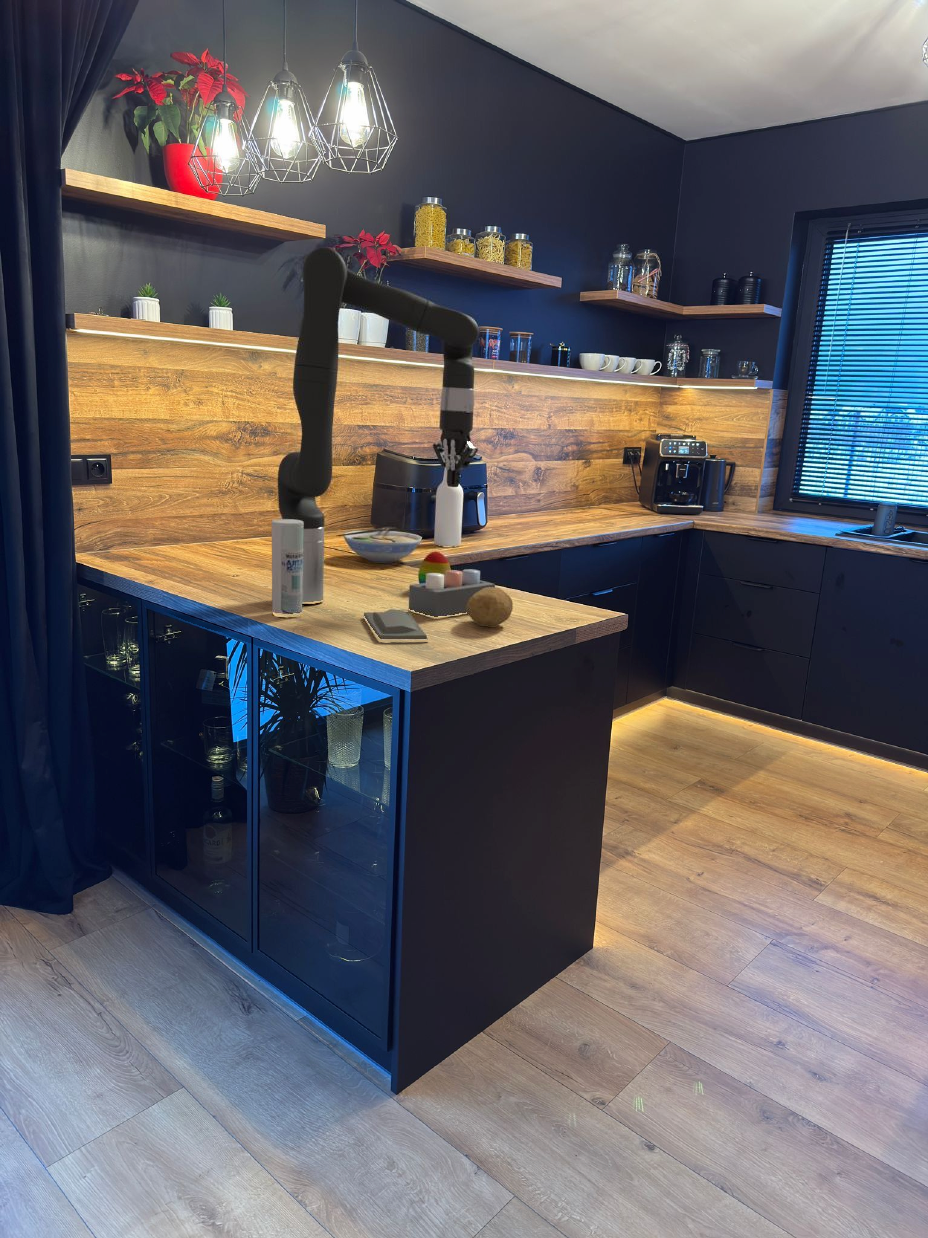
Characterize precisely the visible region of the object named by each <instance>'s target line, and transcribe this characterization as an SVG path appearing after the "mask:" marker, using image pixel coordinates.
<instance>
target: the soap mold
mask: <svg viewBox="0 0 928 1238" xmlns="http://www.w3.org/2000/svg"><path fill="white" fill-rule="evenodd" d="M364 616H365V618H366V619H367V621H368V623H369V624H370V626H371V627H372V628H373V630H374V631H375V633H376V634H377V635H378V637H379V638H380V639H427V640H428V637H427V634H426V632H425V631H424V630H423V629H422V628H421V626H420V625H419V624H418V623H417V621H416V620H415V619H414V617H413V616H412V614H411V613H410V612H409V611H405V610H403V609H391V608H390V609H388V610H386V611H380V612H379V611H373V612H369V611H368V612H367V611H366V612H363V617H364Z"/></svg>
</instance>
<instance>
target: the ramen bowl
mask: <svg viewBox="0 0 928 1238" xmlns="http://www.w3.org/2000/svg"><path fill="white" fill-rule="evenodd" d="M397 530H398V528H397V527H396V526H395V527H393V526H387V527H380V528H375V529H367V530H354V531H349V532H345V533H343V534H336V535H335V537H342V536H343V538H344V542H346V544H347V545H348V547H349V548H350V549H351V551H352V552H354V553H355V554H356V555H358V556H359V557H361V558H363V559H366V560H368V561H369V562H372V563H376V564H392V563H394V562H396V561H398V560H402V559H404V558H407V557H408V556H410V555H411V554H412V553H413V552H414V551H415V550H416V548H417V547H418V546H419V544H420V542H421V540H423V539H422V538H423V537H422V536H420V535H418V534H415V533H410V532H403V531H397Z"/></svg>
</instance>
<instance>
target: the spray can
mask: <svg viewBox="0 0 928 1238" xmlns="http://www.w3.org/2000/svg"><path fill="white" fill-rule="evenodd" d="M303 527H304V523H303V521H301V520H294V519H282V518H278V519H273V520H271V612H272V611H273V612H275V613H282V614H293V613H300V612H302V613H303V605H302V585H303Z"/></svg>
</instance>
